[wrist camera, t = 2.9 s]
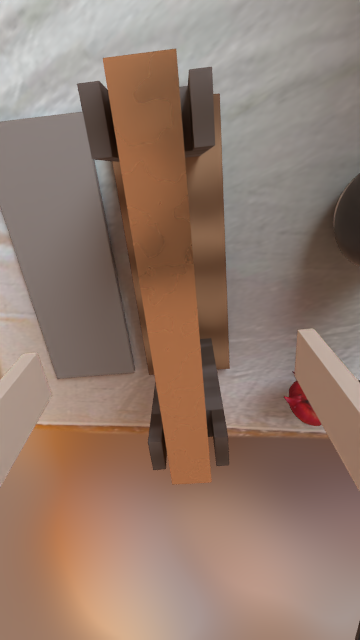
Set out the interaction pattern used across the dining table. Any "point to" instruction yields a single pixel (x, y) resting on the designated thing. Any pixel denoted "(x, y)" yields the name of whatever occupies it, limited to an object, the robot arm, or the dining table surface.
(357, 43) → the dining table surface
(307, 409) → the decorative bird figurine
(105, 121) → the rail stand
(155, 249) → the copper rail
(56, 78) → the dining table surface
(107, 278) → the rubber mat
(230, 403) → the dining table surface
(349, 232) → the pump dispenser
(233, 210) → the dining table surface
